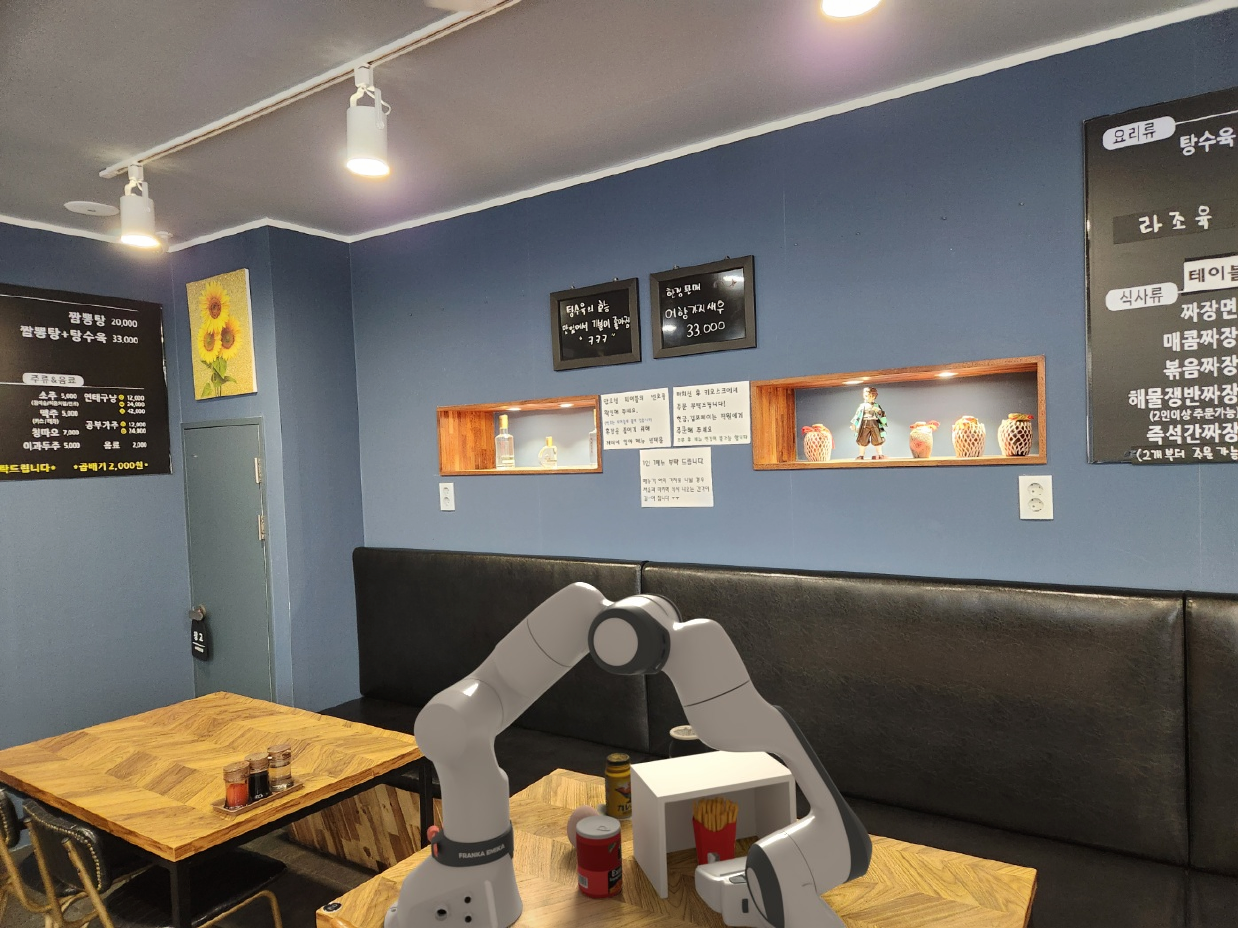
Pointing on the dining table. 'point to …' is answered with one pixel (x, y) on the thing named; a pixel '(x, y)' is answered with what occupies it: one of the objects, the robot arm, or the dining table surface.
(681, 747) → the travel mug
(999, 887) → the dining table surface
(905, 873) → the dining table surface
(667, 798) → the white step stool
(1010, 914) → the dining table surface
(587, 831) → the canned food
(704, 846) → the french fries
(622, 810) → the condiment
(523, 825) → the dining table surface
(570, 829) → the egg
